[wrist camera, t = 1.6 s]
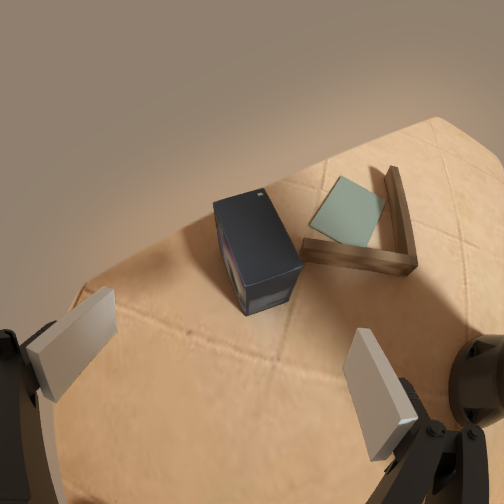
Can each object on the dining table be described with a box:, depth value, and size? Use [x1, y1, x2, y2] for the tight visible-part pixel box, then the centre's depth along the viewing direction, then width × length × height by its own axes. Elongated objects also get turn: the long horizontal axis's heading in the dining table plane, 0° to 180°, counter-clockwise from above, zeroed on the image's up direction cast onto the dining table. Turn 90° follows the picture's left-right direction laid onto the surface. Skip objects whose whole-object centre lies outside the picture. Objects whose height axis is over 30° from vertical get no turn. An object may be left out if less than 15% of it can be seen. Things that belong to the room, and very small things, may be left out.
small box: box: [213, 188, 304, 316], centre depth 33 cm, size 11×6×10 cm, turn 21°
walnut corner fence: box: [299, 166, 418, 276], centre depth 41 cm, size 17×20×4 cm
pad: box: [309, 176, 386, 248], centre depth 43 cm, size 9×13×1 cm
